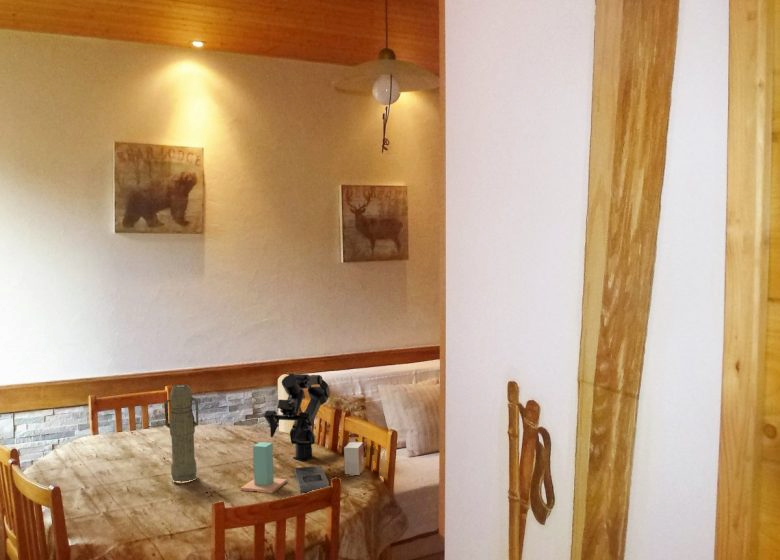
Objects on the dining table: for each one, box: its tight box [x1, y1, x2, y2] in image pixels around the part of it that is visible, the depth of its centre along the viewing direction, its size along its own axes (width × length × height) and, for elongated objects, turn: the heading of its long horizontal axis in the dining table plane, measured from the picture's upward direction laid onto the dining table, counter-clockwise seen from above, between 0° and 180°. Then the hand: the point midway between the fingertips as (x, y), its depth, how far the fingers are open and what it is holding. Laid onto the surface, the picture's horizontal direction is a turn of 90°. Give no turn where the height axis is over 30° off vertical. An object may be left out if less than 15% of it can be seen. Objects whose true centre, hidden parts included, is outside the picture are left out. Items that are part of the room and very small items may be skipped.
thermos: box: [163, 384, 199, 482], centre depth 259 cm, size 9×12×35 cm
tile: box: [240, 477, 288, 494], centre depth 250 cm, size 12×12×1 cm
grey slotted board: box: [294, 465, 330, 494], centre depth 253 cm, size 21×10×2 cm, turn 13°
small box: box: [343, 441, 365, 476], centre depth 263 cm, size 8×6×10 cm
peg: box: [252, 441, 275, 486], centre depth 250 cm, size 5×5×14 cm
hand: (282, 437), depth 263 cm, fingers open, 9 cm apart
